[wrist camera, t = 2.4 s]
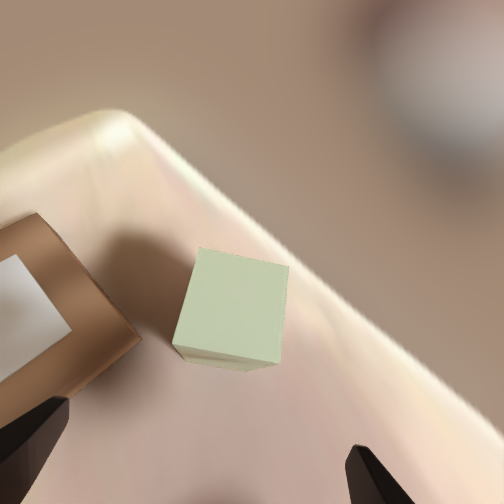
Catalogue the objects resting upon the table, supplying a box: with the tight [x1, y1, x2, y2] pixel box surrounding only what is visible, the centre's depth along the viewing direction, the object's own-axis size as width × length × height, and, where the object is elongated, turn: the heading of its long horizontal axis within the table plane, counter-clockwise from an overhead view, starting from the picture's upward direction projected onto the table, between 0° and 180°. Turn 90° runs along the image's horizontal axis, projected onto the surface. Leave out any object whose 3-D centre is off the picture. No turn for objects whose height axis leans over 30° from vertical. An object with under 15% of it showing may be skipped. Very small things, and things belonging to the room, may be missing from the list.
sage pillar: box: [172, 248, 289, 372], centre depth 16 cm, size 4×4×10 cm
